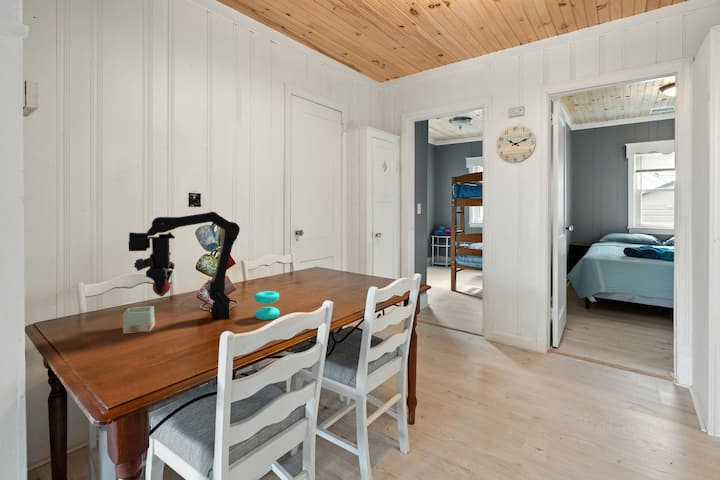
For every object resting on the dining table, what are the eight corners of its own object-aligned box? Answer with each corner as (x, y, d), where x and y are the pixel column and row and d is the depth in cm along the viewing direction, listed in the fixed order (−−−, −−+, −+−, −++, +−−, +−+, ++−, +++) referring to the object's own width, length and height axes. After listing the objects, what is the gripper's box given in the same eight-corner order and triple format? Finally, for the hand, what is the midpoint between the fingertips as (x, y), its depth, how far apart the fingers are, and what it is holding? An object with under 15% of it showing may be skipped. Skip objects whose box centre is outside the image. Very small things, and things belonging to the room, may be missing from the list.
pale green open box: (154, 317, 143) (153, 306, 143) (150, 324, 135) (149, 312, 135) (128, 319, 140) (128, 307, 140) (123, 326, 132) (122, 314, 132)
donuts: (259, 297, 146) (250, 292, 154) (260, 322, 147) (251, 316, 155) (283, 294, 152) (273, 289, 160) (283, 318, 153) (273, 312, 161)
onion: (162, 299, 138) (162, 277, 137) (149, 297, 139) (148, 276, 138) (173, 295, 143) (173, 274, 143) (160, 294, 145) (160, 273, 144)
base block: (155, 325, 143) (154, 317, 143) (150, 332, 135) (149, 324, 135) (129, 327, 141) (129, 319, 140) (123, 334, 132) (122, 326, 132)
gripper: (143, 247, 146) (143, 287, 147) (128, 253, 128) (129, 298, 130) (174, 247, 149) (174, 286, 151) (164, 253, 132) (165, 297, 133)
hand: (161, 291), depth 141 cm, fingers closed on onion, 6 cm apart
